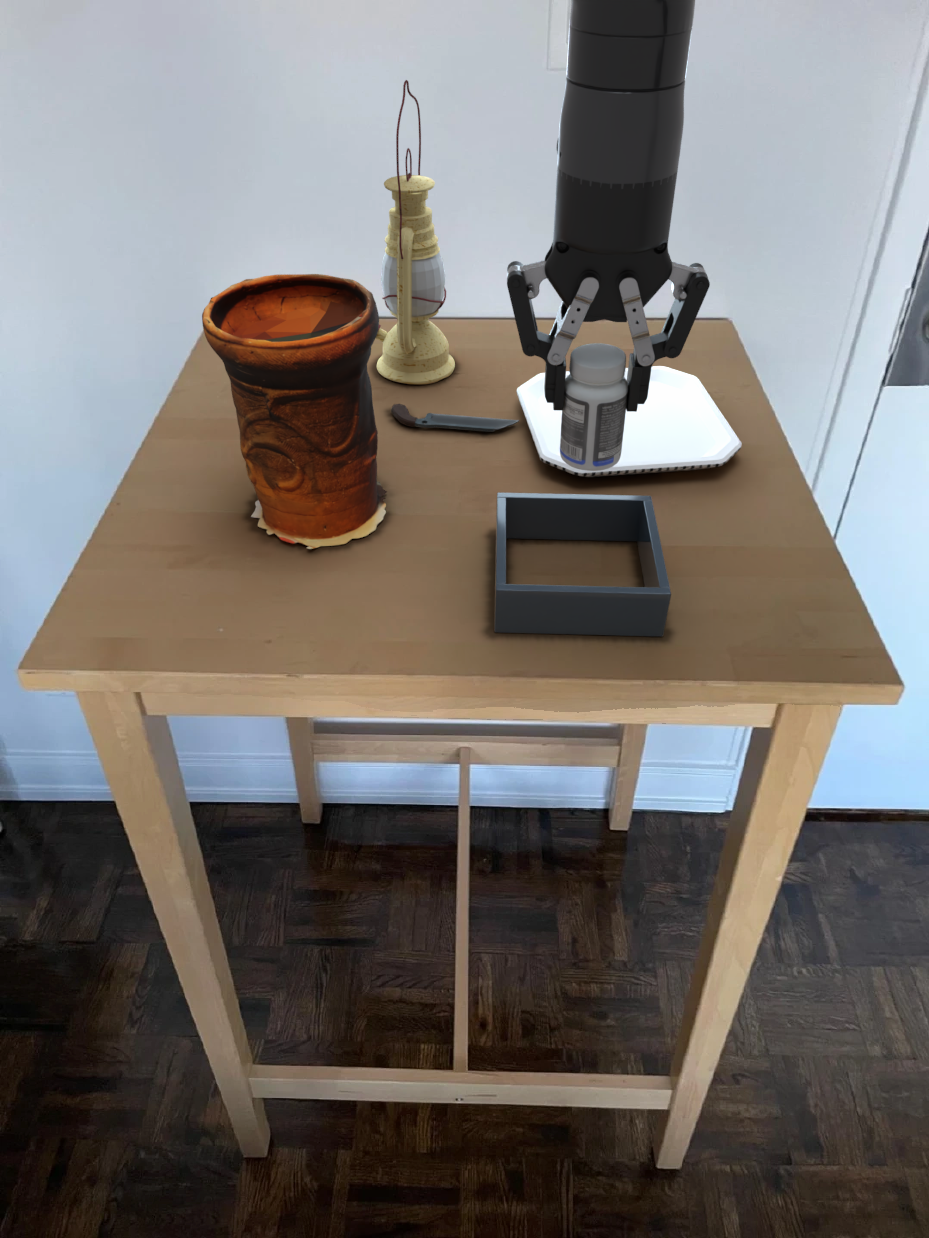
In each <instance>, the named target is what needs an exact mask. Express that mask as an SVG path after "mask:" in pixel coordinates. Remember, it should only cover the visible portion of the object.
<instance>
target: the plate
mask: <svg viewBox="0 0 929 1238" xmlns="http://www.w3.org/2000/svg"><path fill="white" fill-rule="evenodd" d="M569 374H570V370H569V371H567V370H566V377H567V376H568V375H569ZM627 374H628V367H626V369H625V375H624V377H625V379H626V380H627ZM565 379H566V378H565ZM544 383H545V372H540V373H537V374H536V375H535V376H533V377H531V378H530V379H528V380H527V381H526V382H524V383H522V384H520V386H518V387H517V388H516V395H517V398H518V401H519V404H520V407H521V409H522V412H523V415H524V418H525V421H526V423H527V427H528V430H529V432H530V434H531V437H532V440H533V442H534V446H535V449H536V451H537V455H538V458H539V460H540V461H541V462H542V463H543V464H546V465H548V466H551V467H552V468H553V467H554V468H556V469H558V470H561V471H563V472H567V473H569V474H572V475H574V476H577V477H578V476H579V477H585V478H598V477H611V476H627V475H642V474H643V475H644V474H654V473H655V474H656V473H670V472H671V473H672V472H685V471H686V472H687V471H696V470H697V471H698V470H705V469H710V468H711V469H712V468H719V467H722V466H724V465H726V464H727V463H728V462H729V461H730V460H731V459H733V457H734V456H735V455H736V454H737V453H738V452H740V450H741V449H742V441H741V440H740V438H739V436H737V433H735V431H734V429H733V427H731V425H730V423H729V422H728V420H727V419H726V417H725V416H724V414H723V413H722V412H721V410H720V408H719V407H718V405H717V404H716V402H715V401H714V399H713V397H712V396H711V395H710V393H709V392H708V391H707V388H705V386H704V384H703V383H702V382H701V380H700V379H699V377H697V376H696V375H694V374H690V373H687V372H684V371H681V370H677V369H674V368H672V367H668V366H664V365H654V366H653V365H652V368H651V375H650V382H649V390H648V397H647V400H646V401H645V403H644V404H638V407H637V411H636V412H627V410H626V414H625V423H624V432H623V441H622V451H621V457H620V459H619V461H618V463H617V464H615V465H614V466H612V467H610V468H608V469H605V470H599V471H587V470H580V469H576V468H574V467H571V466H569V465H568V464H566V463H565V462H564V461H563V460H562V458H561V456H560V439H561V419H562V410H553V403H547V401H546V398H545V391H544Z"/></svg>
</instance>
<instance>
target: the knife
mask: <svg viewBox="0 0 929 1238" xmlns="http://www.w3.org/2000/svg"><path fill="white" fill-rule="evenodd" d="M390 412H391V414H392V415H393V417H394V418H395V419H396V420H397V421H398V422H400V423H401V424H402V425H405V426H408V427H412V428H416V427H418V428H424V429H425V428H426V429H428V428H429V429H430V428H431V429H432V428H434V429H435V428H437V429H439V428H440V429H452V430H463V431H464V430H465V431H476V432H489V433H490V432H491V433H493V432H495V431H497V430H502V429H505V428H507V427H510V426H513V425H515V424H517V423H519V422H520V419H506V418H496V417H494V418H493V417H483V416H470V415H457V414H446V413H445V414H444V413H432V412H428V413H426V415H425V417H422V418H418V417H416V416H412V415H411V414H410V413H409V409H408V407H407V406H406V405H405V404H402V403H394V404H393V405H392V407H391V409H390Z"/></svg>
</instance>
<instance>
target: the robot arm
mask: <svg viewBox="0 0 929 1238" xmlns="http://www.w3.org/2000/svg"><path fill="white" fill-rule="evenodd" d="M695 9H696V0H570V13H569V26H568V43H567V57H566V59H567V61H566V78H565V88H564V93H563V99H562V105H561V112H560V117H559V127H558V137H557V141H556V155H557V160H556V161H557V162H556V179H555V180H556V181H555V198H554V199H555V200H554V214H553V215H554V216H553V232H552V233H553V234H552V243H551V246H550V248H549V250H548V251H547V252H546V254H545V257H544V259H542V260H540V261H535V262H531V263H527V264H523V263H522V262H521V261H519V260H513V261H511V262H510V263H509V264H508V265H507V267H506V286H507V290H508V295H509V299H510V304H511V307H512V312H513V316H514V320H515V326H516V329H517V333H518V337H519V341H520V345H521V350H522V353H523V354H524V355H525V356H526V357H538V358H540V359H542V360H543V361H544V362H545V366H544V367H545V369H544V373H545V383H544V391H545V398H546V401H547V403H553V410H563V406H564V392H565V378H566V371H567V359H566V357H567V354H568V352H569V350H570V348H571V345H572V342H573V341H574V340H575V339H576V338H577V336H578V333H579V331H580V329H581V327H582V325H583V323H595V322H598V321H603V320H605V321H610V322H613V323H627V324H628V329H629V332H630V336H631V340H632V345H633V351H632V353H629V358H628V366H627V368H628V374H627V383H628V395H627V405H626V410H627V412H636V411H637V407H638V404H644V403H645V401H646V400H647V397H648V390H649V382H650V375H651V368H652V366H653V365H654V364H655V362H657V361H658V360H660V359H664V358H668V359H675V358H678V357H679V356H680V355H681V353H682V352H683V348H684V347H685V344H686V341H688V340H687V339H688V337H689V335H690V332H691V330H692V328H693V325H694V323H695V321H696V318H697V316H698V314H699V312H700V309H701V308H702V305H703V303H704V301H705V298H706V296H707V294H708V291H709V289H710V285H711V282H710V280H709V277H708V274H707V271H706V270H705V268H704V265H702V263H700V262H694V263H691V264H689V265H687V264H682V263H679V262H675V261H672V259H671V255H670V253H669V239H670V238H669V237H670V231H671V222H672V215H673V208H674V201H675V192H676V186H677V178H678V172H679V171H678V170H679V164H680V156H681V150H682V149H681V147H682V142H683V141H682V140H683V135H684V123H685V88H686V78H687V71H688V62H689V57H690V56H689V55H690V47H691V40H692V32H693V25H694V18H695ZM546 279H547V281H548V282H549V284H550V285H551V286H552V288H553V290H554V291H555V292H556V294H557V295H558V296H559V298H560V300H561V302H560V305H559V307H558V310H557V313H556V316H555V320H554V322H553V325H552V328H551V329H550V332H549V334H548V333H545V332H542V331H540V330H539V328H538V324H537V318H536V315H535V314H536V313H535V310H534V305H533V301H532V300H533V299H536V298H537V297H538V296H539V294H540V286H541V283H542V282H543V281H544V280H546ZM668 281H671V286H670V288H671V293H672V296H673V298H674V300H673V302H672V304H671V307H670V309H669V311H668V314H667V317H666V319H665V322H664V324H663V326H662V329H661V331H660V332H658V333H656V334H653V335H650V329H649V325H648V322H647V318H646V314H645V309H644V308H645V306H646V305H647V304H648V303H649V302H650V301H651V300H652V299H653V298H654V296H655V295H656V294H657V293H658V292H659V290H660V289H661V288H663V286H664V285H665V284H666V283H667V282H668Z"/></svg>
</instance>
